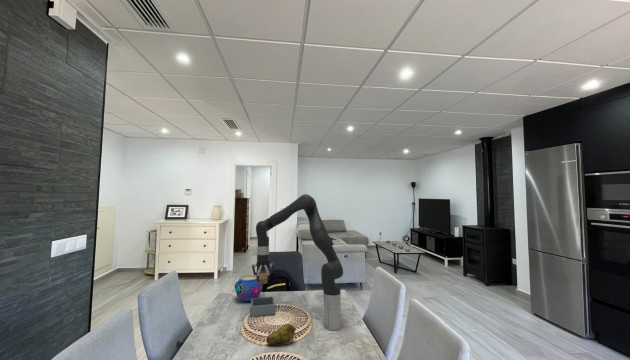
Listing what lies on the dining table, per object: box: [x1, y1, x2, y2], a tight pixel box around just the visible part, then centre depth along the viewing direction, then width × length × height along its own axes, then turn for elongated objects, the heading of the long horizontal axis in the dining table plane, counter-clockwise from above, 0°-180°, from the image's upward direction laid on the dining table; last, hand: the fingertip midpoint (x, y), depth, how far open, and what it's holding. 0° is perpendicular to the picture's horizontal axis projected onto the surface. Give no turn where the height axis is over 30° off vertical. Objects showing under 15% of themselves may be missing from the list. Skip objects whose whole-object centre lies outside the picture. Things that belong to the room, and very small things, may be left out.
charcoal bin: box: [250, 296, 276, 318], centre depth 161 cm, size 14×14×6 cm
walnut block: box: [259, 270, 268, 285], centre depth 163 cm, size 5×5×6 cm
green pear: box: [266, 323, 296, 345], centre depth 125 cm, size 8×13×8 cm, turn 83°
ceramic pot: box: [234, 274, 263, 302], centre depth 181 cm, size 18×18×15 cm
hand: (263, 281), depth 162 cm, fingers closed on walnut block, 5 cm apart
